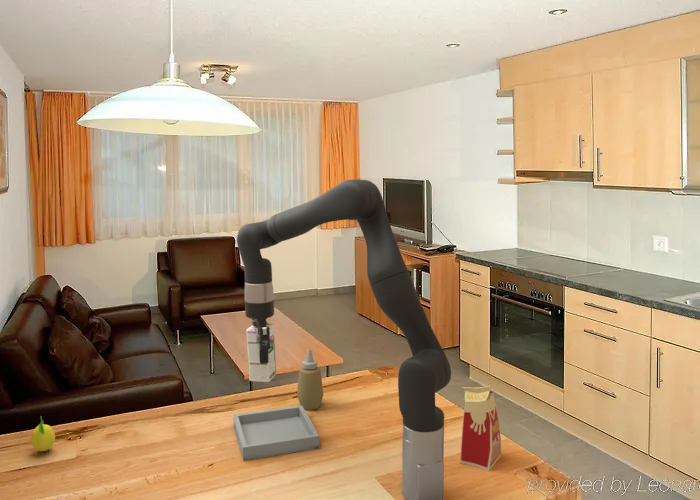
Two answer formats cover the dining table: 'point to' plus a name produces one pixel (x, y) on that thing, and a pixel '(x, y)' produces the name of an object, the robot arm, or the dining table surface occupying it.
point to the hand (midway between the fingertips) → (261, 358)
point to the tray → (274, 432)
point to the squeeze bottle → (310, 384)
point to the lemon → (42, 437)
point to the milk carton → (480, 429)
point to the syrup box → (257, 369)
